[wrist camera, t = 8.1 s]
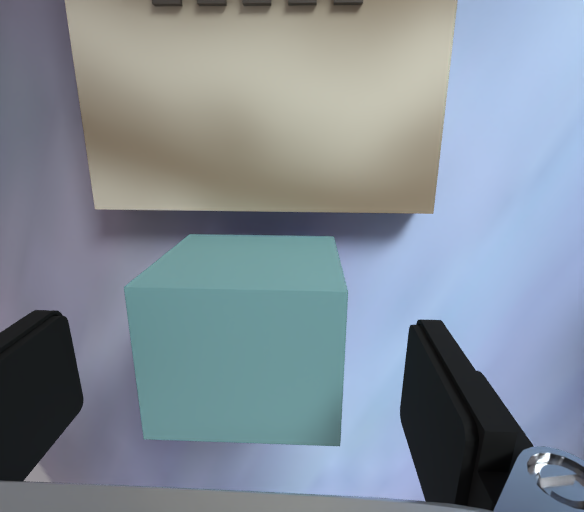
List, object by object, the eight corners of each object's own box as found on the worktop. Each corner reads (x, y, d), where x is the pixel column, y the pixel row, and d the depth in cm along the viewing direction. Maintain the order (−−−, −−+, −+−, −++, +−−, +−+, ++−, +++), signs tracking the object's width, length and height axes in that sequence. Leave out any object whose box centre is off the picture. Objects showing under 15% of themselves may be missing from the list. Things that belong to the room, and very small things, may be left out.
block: (189, 234, 16) (123, 287, 10) (333, 236, 16) (347, 291, 10) (197, 340, 18) (143, 439, 12) (329, 344, 17) (340, 446, 12)
